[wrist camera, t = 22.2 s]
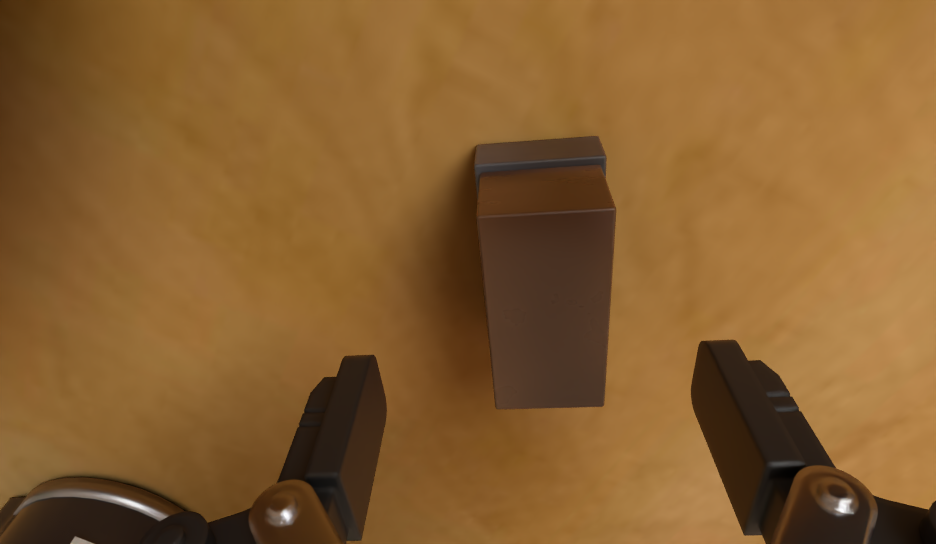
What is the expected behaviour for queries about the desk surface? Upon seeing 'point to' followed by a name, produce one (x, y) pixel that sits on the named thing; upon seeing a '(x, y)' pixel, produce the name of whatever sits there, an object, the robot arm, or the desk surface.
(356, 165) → the desk surface
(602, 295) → the eraser
